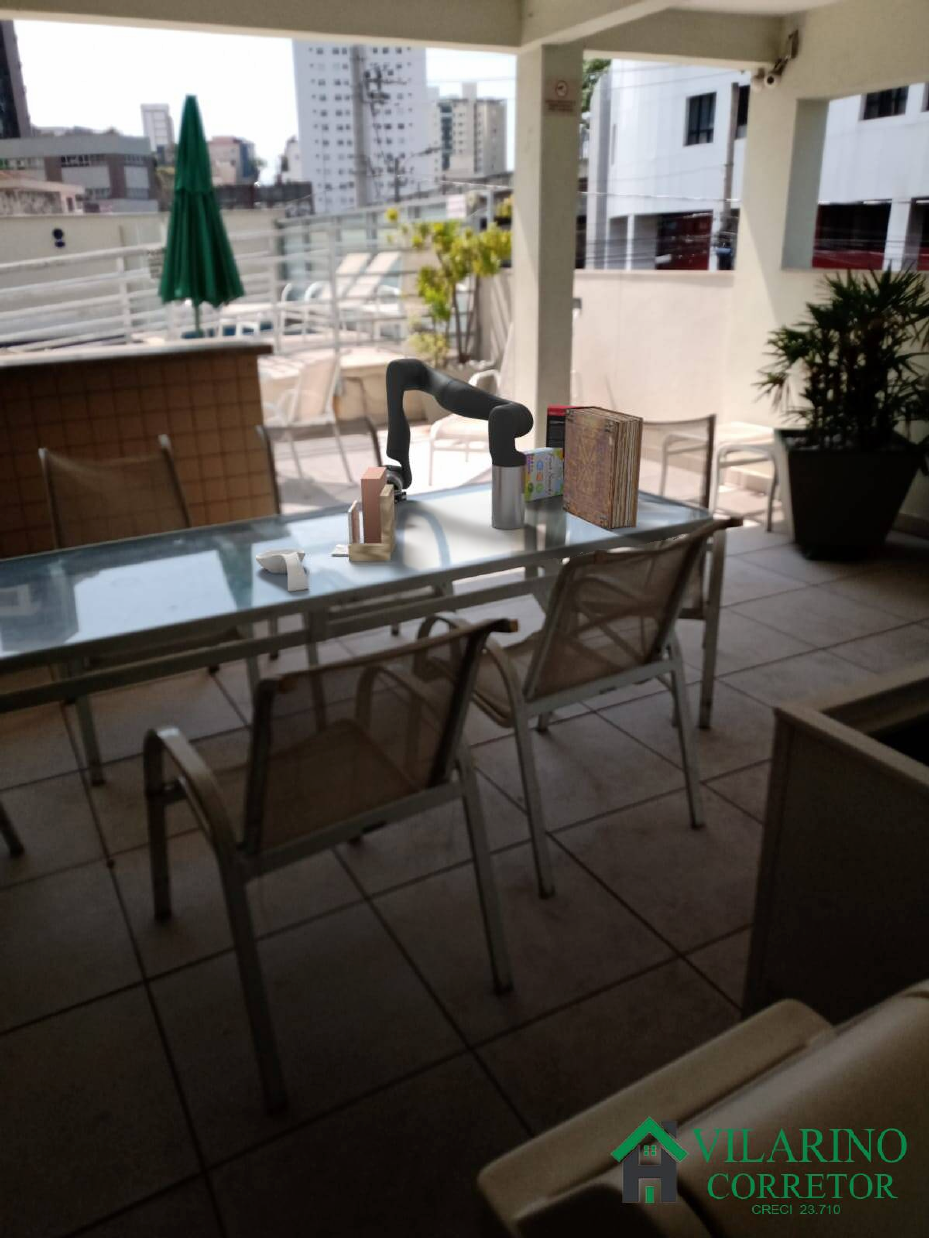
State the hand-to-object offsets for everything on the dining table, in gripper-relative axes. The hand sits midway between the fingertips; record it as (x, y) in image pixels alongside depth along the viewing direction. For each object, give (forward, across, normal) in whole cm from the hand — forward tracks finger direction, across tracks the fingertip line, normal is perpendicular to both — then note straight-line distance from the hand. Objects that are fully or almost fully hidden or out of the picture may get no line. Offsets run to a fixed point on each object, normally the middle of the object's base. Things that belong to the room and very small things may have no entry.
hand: (381, 503), depth 246 cm
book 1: (+11, 0, +7) cm, 13 cm away
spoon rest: (+42, -17, +8) cm, 46 cm away
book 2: (-12, +61, +7) cm, 63 cm away
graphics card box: (-43, +55, +7) cm, 70 cm away
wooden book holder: (+23, +1, +7) cm, 24 cm away
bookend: (+22, -7, +7) cm, 24 cm away
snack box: (-36, +44, +7) cm, 58 cm away
